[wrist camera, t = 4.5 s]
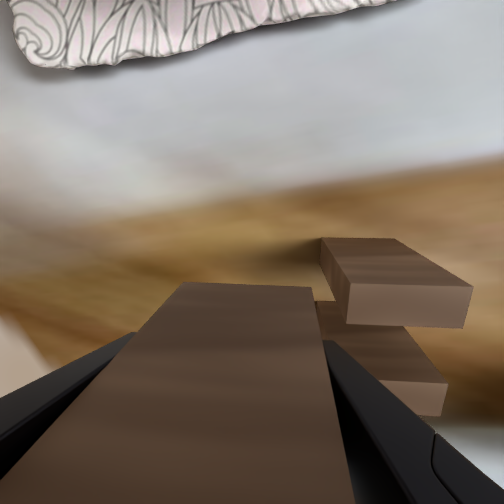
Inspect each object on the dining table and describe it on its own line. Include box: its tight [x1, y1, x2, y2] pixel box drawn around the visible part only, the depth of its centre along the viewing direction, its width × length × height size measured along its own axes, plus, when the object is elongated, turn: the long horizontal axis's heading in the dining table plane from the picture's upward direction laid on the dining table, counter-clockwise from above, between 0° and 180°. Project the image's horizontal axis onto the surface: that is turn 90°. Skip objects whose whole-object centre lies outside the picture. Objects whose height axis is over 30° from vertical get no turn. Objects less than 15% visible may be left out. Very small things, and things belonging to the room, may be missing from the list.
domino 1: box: [0, 282, 355, 504], centre depth 7 cm, size 2×5×8 cm, turn 91°
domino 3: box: [316, 301, 448, 416], centre depth 17 cm, size 2×5×8 cm, turn 90°
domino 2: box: [320, 238, 473, 329], centre depth 16 cm, size 2×5×8 cm, turn 91°
